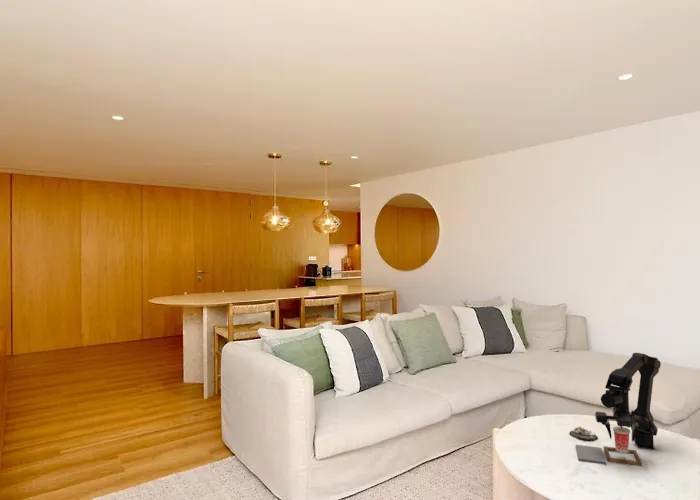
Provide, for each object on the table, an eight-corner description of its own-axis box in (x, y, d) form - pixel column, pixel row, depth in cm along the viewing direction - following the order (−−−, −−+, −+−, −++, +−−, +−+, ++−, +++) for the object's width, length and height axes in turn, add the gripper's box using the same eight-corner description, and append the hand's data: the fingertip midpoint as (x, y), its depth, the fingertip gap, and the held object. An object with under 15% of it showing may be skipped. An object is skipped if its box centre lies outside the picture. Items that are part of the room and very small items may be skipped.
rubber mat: (601, 450, 194) (601, 447, 194) (606, 464, 181) (606, 462, 181) (575, 446, 198) (575, 444, 198) (578, 460, 185) (578, 458, 185)
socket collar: (635, 453, 190) (635, 448, 190) (642, 466, 179) (641, 461, 179) (603, 449, 194) (603, 444, 194) (607, 461, 183) (607, 456, 183)
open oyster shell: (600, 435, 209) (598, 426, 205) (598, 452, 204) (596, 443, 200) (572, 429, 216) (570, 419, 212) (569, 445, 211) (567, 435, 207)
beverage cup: (634, 453, 184) (633, 419, 184) (619, 454, 183) (618, 420, 183) (624, 447, 190) (623, 414, 190) (610, 447, 189) (609, 414, 189)
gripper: (597, 406, 183) (598, 444, 183) (651, 412, 175) (652, 451, 175) (594, 398, 193) (595, 434, 193) (645, 402, 186) (646, 440, 186)
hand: (621, 439), depth 186 cm, fingers closed on beverage cup, 8 cm apart
